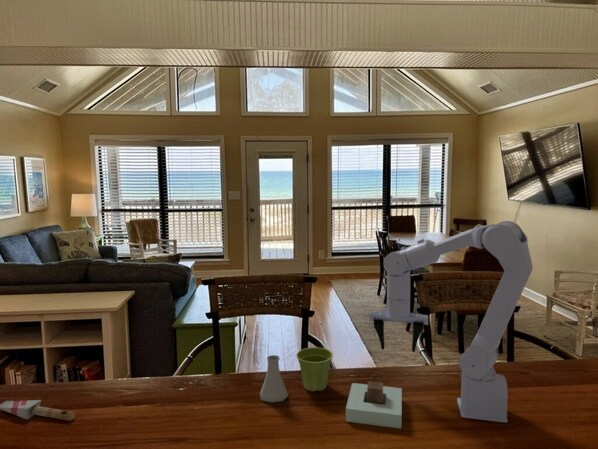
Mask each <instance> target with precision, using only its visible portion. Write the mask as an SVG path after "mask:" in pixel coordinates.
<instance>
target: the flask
mask: <svg viewBox="0 0 598 449" xmlns="http://www.w3.org/2000/svg"><path fill="white" fill-rule="evenodd" d="M266 360H267V370H266V374H265V378H264V382H263V384H262V387H261V390H260V392H259V398H260V400H261V401H263V402H267V403H271V404H272V403H279V402H280V403H281V402H284V401H285V399H286V400H287V398H288V396H289V393H288V391H287V389H286V386H285V384H284V380H283V378H282V374H281V371H280V370H281V369H280V365H279V361H280V356H279V355H275V354H270V355H268V356H267V357H266Z"/></svg>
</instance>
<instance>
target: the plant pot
mask: <svg viewBox="0 0 598 449" xmlns="http://www.w3.org/2000/svg"><path fill="white" fill-rule="evenodd" d="M333 355H334V353H333V352H332V351H330V350H329V349H327V348H323V347H316V346H315V347H314V346H313V347H307V348H302V349H301V350H299V351H298V352H296V358H297V361H298V363H299V368H300V372H301V378H302V379H301V380H302V385H303V388H304V389H305V390H307V391H310V392H316V391H318V392H321V391H324V390H325V389H326V388H327V387H328V380H329V370H330V364H331V362H332V361H331V360H332V359H333Z"/></svg>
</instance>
